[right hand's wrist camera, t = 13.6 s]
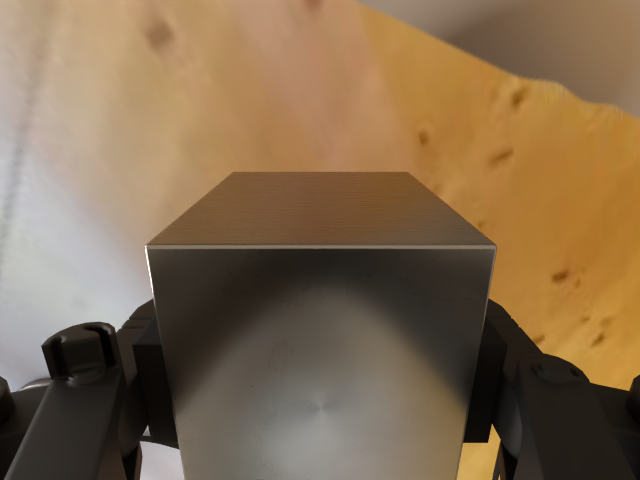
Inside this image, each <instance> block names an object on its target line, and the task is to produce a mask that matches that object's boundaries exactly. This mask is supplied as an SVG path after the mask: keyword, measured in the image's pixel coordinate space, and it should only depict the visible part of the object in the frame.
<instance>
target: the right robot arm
mask: <svg viewBox="0 0 640 480" xmlns="http://www.w3.org/2000/svg"><path fill="white" fill-rule="evenodd" d="M41 347H42V350H43V354H44V357H45V360H46V363H47V367H48V370H49V373H50V376H51V379H40V380H36V381H33V382H30V383H28V384H26V385H24V386H23V387H22V388H21V389H19V390H18V391H17V392H12V393H11V392H10V389H9V386H8V383H7V381H6V380H5V379H4V378H2V377H1V376H0V480H140V473H141V464H142V450H141V445H140V441H146V442H152V443H158V444H162V445H165V446H169V447H172V448H176V449H179V443H178V437H177V431H176V426H175V420H174V414H173V408H172V403H171V397H170V391H169V385H168V379H167V374H166V368H165V362H164V356H163V351H162V345H161V339H160V333H159V328H158V322H157V316H156V310H155V304H154V299H151V300H150V301H148V302H147V303H145V304H143V305H142V306H140V307H138V308H137V310H136V311H135V312H134V313H133V314H132V315H131V316H130V318H129V320H127V321H126V322H125V323H124V324H123V326H122V328H121V329H119V330H118V331H117V332H115V328H114V327H113V326H112V325H110V324H109V323H103V322H89V323H83V324H79V325H75V326H72V327H69V328H67V329H64V330H62V331H59V332H58V333H56V334H54V335H53V336H51V337H50V338H48V339H47V340H46V341H45V342H44V344H43V345H42V346H41ZM492 424H493V426H494V428H495V430H496V432H497V433H498V435H499V437H500V439H501V441H500V445H499V450H498V454H497V459H496V463H495V468H494V472H493V479H492V480H498V478H499V474H500V480H640V375H639V376H637V377H636V378H634V379H633V382H632V385H631V388H630V390H629V391H626V390H621V389H616V388H612V387H607V386H602V385H597V384H593V383H590V381H589V379H588V378H587V377H586V375H585V374H584V373H583V371H581V370H580V369H579V368H577V367H576V366H575V365H573V364H572V363H570V362H568V361H566V360H564V359H561V358H559V357H556V356H552V355H549V354H543V353H542V352H541V350H540V349H539V348H538V347H537V346H536V345H535V344H534V342H533V341H532V340H531V339H530V338H529V337H528V336H527V334H526V333H525V332H524V331H523V330H522V329H521V328H520V327H518V324H517V323H516V322H515V321H514V320H513V319H511V316H510V315H509V314H508V313H507V312H506V311H505V309H504V308H503V307H502V306H500V305H499V304H497V303H495V302H494V301H492V300H491V299H489V298H488V303H487V308H486V314H485V320H484V326H483V331H482V337H481V343H480V348H479V354H478V360H477V366H476V371H475V377H474V383H473V388H472V394H471V400H470V406H469V411H468V417H467V423H466V428H465V434H464V440H463V443H488V440H489V435H490V430H491V425H492ZM147 425H148V426H149V431H150V436H151V437H150V436H142V435H143V433H144V431H145V429H146V427H147Z"/></svg>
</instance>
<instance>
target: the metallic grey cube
mask: <svg viewBox="0 0 640 480" xmlns="http://www.w3.org/2000/svg"><path fill="white" fill-rule="evenodd" d="M496 251H497V246H496V244H494V243H493V242H492V241H491V240H490V239H488V238H487V237H486V236H485V235H484V234H482V233H481V232H480V231H479V230H478V229H476V228H475V227H474V226H473V225H471V224H470V223H469V222H468V221H467V220H465V219H464V218H463V217H462V216H461V215H459V214H458V213H457V212H456V211H455V210H453V209H452V208H451V207H450V206H448V205H447V204H446V203H445V202H444V201H442V200H441V199H440V198H439V197H438V196H436V195H435V194H434V193H433V192H431V191H430V190H429V189H428V188H427V187H425V186H424V185H423V184H422V183H421V182H419V181H418V180H417V179H416V178H415V177H413V176H412V175H411V174H410V173H408V172H233V173H231V174H230V175H229V176H228V177H226V178H225V179H224V180H223V181H222V182H220V183H219V184H218V185H217V186H216V187H214V188H213V189H212V190H211V191H210V192H208V193H207V194H206V195H205V196H204V197H202V198H201V199H200V200H199V201H198V202H196V203H195V204H194V205H193V206H192V207H190V208H189V209H188V210H187V211H186V212H184V213H183V214H182V215H181V216H180V217H178V218H177V219H176V220H175V221H174V222H172V223H171V224H170V225H169V226H168V227H166V228H165V229H164V230H163V231H162V232H160V233H159V234H158V235H157V236H156V237H154V238H153V239H152V240H151V241H150V242H148V243H147V244H146V245H145V253H146V258H147V264H148V270H149V276H150V281H151V287H152V293H153V299H154V304H155V310H156V316H157V322H158V328H159V333H160V339H161V345H162V351H163V356H164V362H165V368H166V374H167V379H168V385H169V391H170V397H171V403H172V408H173V414H174V420H175V426H176V431H177V437H178V443H179V449H180V454H181V460H182V466H183V472H184V478H185V480H457V474H458V468H459V463H460V457H461V451H462V446H463V440H464V434H465V428H466V423H467V417H468V411H469V406H470V400H471V394H472V388H473V383H474V377H475V371H476V366H477V360H478V354H479V348H480V343H481V337H482V331H483V326H484V320H485V314H486V308H487V303H488V297H489V291H490V286H491V280H492V274H493V268H494V263H495V257H496Z"/></svg>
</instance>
